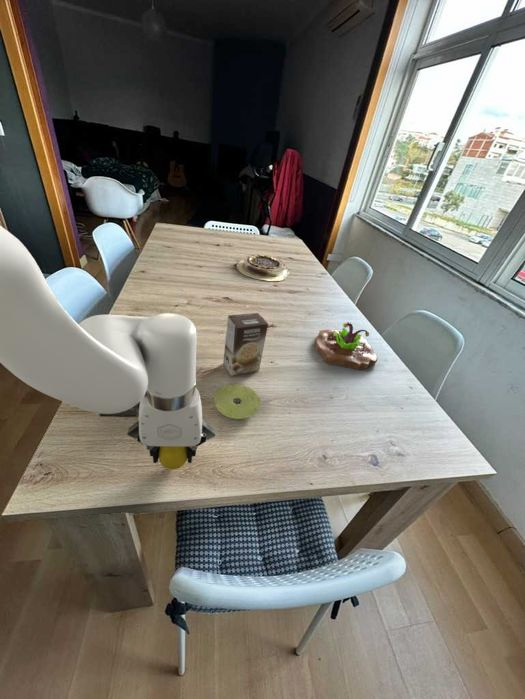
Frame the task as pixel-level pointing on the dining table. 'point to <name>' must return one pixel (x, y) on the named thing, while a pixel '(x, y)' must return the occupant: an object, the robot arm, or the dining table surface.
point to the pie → (263, 267)
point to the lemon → (173, 456)
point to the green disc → (237, 401)
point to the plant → (345, 348)
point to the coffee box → (244, 343)
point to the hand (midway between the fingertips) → (173, 455)
